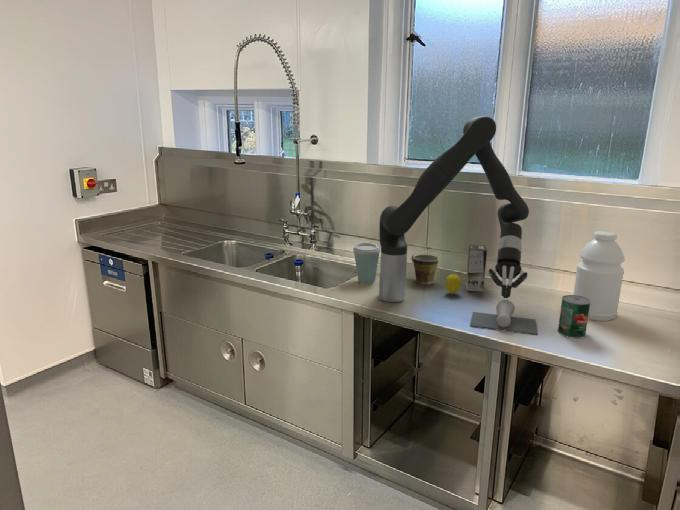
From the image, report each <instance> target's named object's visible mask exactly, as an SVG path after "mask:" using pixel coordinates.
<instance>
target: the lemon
mask: <svg viewBox="0 0 680 510" xmlns="http://www.w3.org/2000/svg"><path fill="white" fill-rule="evenodd" d="M461 287H462V282H461V278H460V276H459V275H457V274H456V273H452V274H450V275H447V278H446V279H445V289H446V291H448V292H449V293H450V294H451V295H454V294H455V293H457V292H458V291H460V288H461Z"/></svg>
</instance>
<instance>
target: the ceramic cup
mask: <svg viewBox="0 0 680 510" xmlns="http://www.w3.org/2000/svg"><path fill="white" fill-rule="evenodd" d="M411 261H412V263H413V266H414V274H415V281H416V283H418V284H420V285H426V286H427V285H431V284H433V282H434V278H435V274H436V270H437V267H438V265H439V261H440V259H439V257H438V256H436V255H433V254H424V253H423V254H415V255H412V256H411Z"/></svg>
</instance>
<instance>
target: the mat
mask: <svg viewBox="0 0 680 510" xmlns="http://www.w3.org/2000/svg"><path fill="white" fill-rule="evenodd" d="M497 317H498V314H496V313H494V314H493V313H487V312H478V311H472V314H471V318H470V323H469V326H471V327H472V328H478V327H481V328H480V329H485V328H489V329H488V330H493V329H498V330H497V331H501V330H506V331H505V332H509V331H514V332H513V333H517V332H521V333H520V334H524V333H528V334H527V335H532V334H536V335H535V336H538V326H537V319H536V318H530V317H529V318H528V317H520V316H513V315H512V316H511V323H510V325H509V326H508V327H505V328H503V327H500V326H499V325H498V324H497V321H496V320H497Z"/></svg>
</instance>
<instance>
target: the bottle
mask: <svg viewBox="0 0 680 510" xmlns="http://www.w3.org/2000/svg"><path fill="white" fill-rule="evenodd" d="M617 236H618V235H617V234H616V233H615V232H612V231H607V230H596V231H594V232H593V239H592V240H590V241H589V242H588V243H586V244H585V245H584V246H583V248H582V250H581V251H580V253H579V257H580V258H581V259H582V260H581V261H579V262H578V263H577V265H576V275H575V282H574V290H573V295H577V296H582V297H585V298H587V299H589V300H590V308H589V314H588V320H592V321H601V322H602V321H603V322H605V321H612V320H615V319H616V317H617V315H618V308H619V303H620V297H621V296H620V295H621V290H622V289H621V288H622V283H623V279H624V273H625V270H624V268H623V267H622V266H621V264H622V263H624V262H625V261H626V260H625V256H624V252H623V250H622V248H621V247H620V245H619V244H618V242H616V241H617V238H618V237H617Z"/></svg>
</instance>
